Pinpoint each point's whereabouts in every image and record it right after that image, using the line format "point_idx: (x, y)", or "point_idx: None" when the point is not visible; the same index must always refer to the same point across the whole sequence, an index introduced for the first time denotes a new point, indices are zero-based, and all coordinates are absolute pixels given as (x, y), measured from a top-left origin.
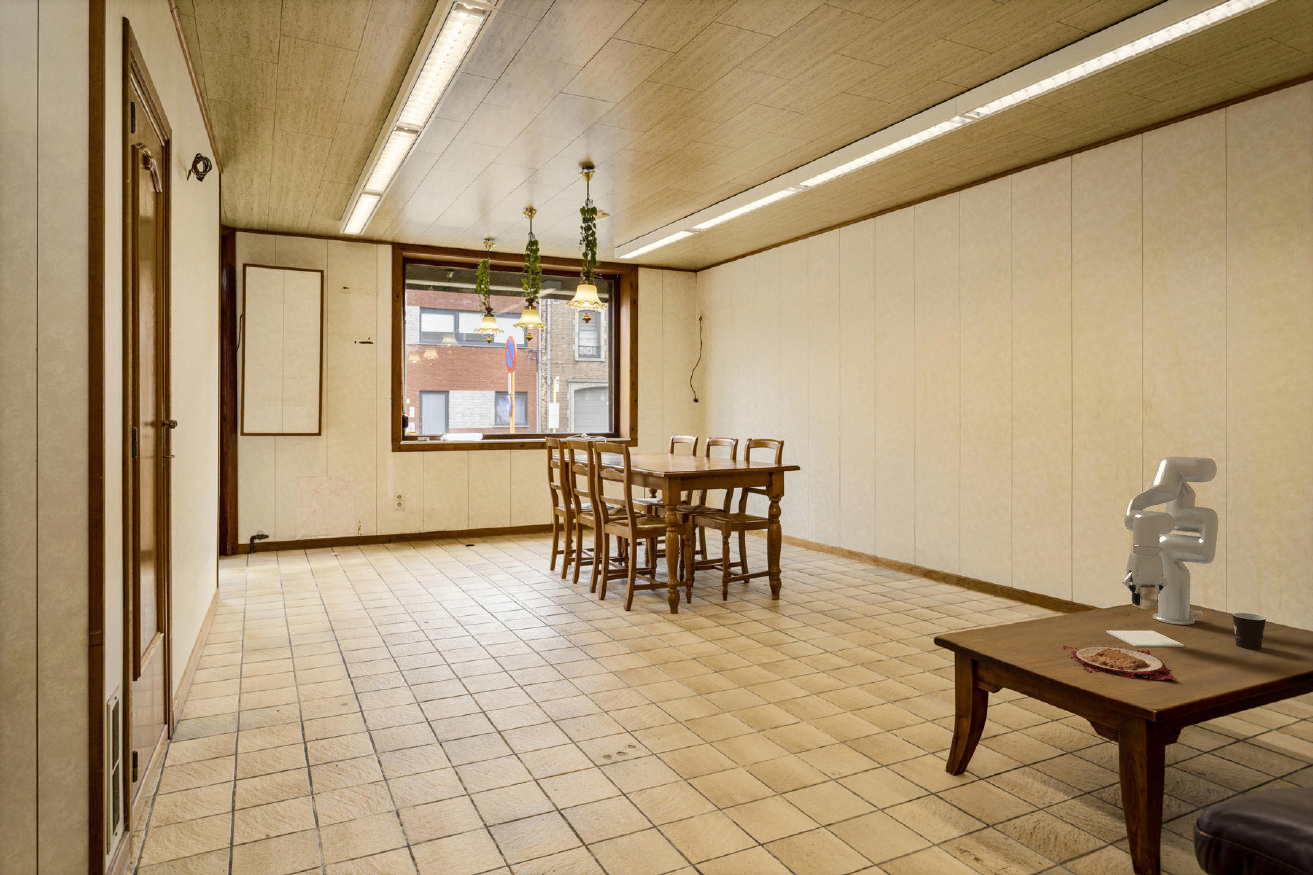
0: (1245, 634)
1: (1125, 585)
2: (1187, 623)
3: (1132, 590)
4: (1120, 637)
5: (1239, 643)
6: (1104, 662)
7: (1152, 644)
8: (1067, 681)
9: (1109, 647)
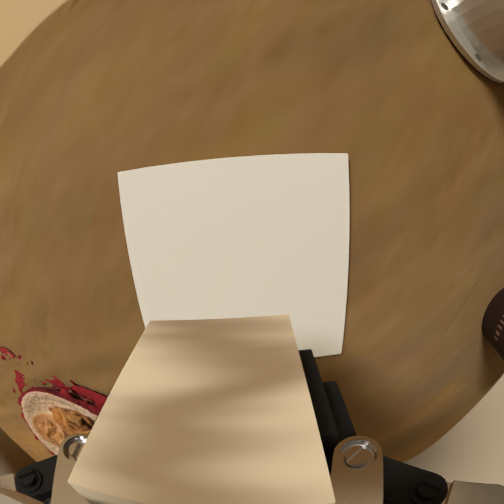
0: (502, 357)
1: (8, 477)
2: (499, 82)
3: None
4: (134, 279)
5: (487, 327)
6: None
7: None
8: (34, 459)
9: (73, 403)
